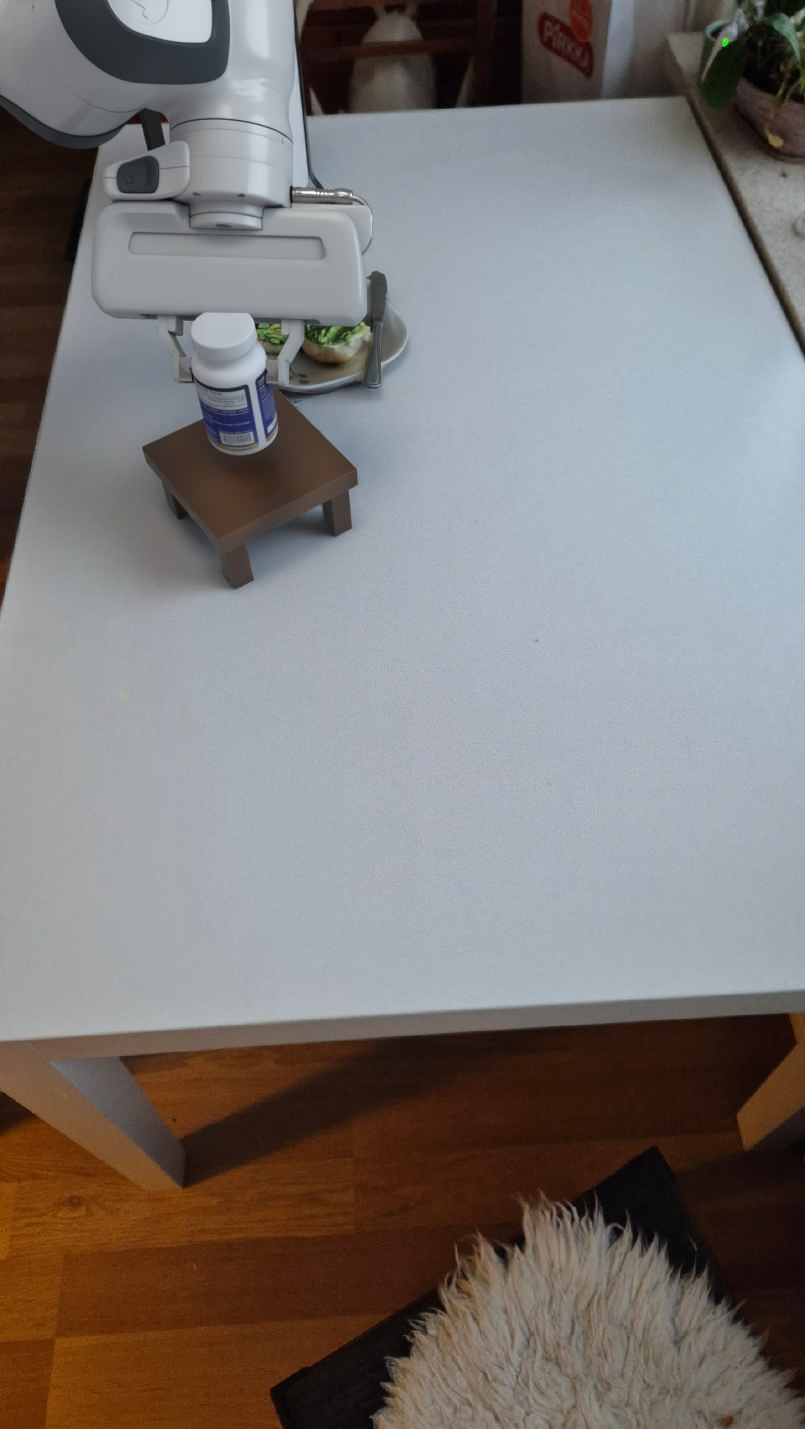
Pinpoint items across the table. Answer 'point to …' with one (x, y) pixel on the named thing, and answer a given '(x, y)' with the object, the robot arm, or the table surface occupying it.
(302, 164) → the coffee press
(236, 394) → the pill bottle
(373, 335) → the avocado toast plate
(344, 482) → the stand
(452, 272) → the table surface
